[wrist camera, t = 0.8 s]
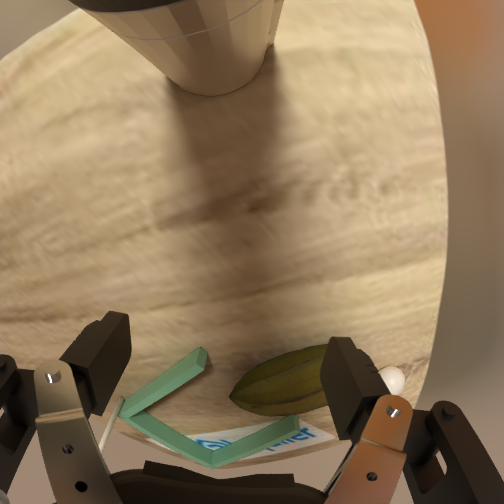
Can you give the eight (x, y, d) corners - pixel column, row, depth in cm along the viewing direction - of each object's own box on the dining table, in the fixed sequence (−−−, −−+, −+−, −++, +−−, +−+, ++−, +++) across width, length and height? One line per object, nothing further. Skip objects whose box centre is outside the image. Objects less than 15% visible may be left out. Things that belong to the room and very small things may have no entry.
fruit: (308, 401, 35) (316, 438, 29) (228, 375, 33) (224, 416, 27) (361, 342, 32) (379, 378, 25) (275, 305, 30) (281, 343, 23)
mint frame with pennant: (193, 341, 31) (154, 506, 12) (298, 416, 36) (316, 541, 17) (117, 397, 35) (73, 508, 16) (213, 455, 40) (205, 554, 21)
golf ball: (390, 354, 32) (403, 376, 28) (402, 369, 34) (414, 390, 29) (363, 374, 33) (373, 397, 29) (376, 387, 34) (386, 409, 30)
